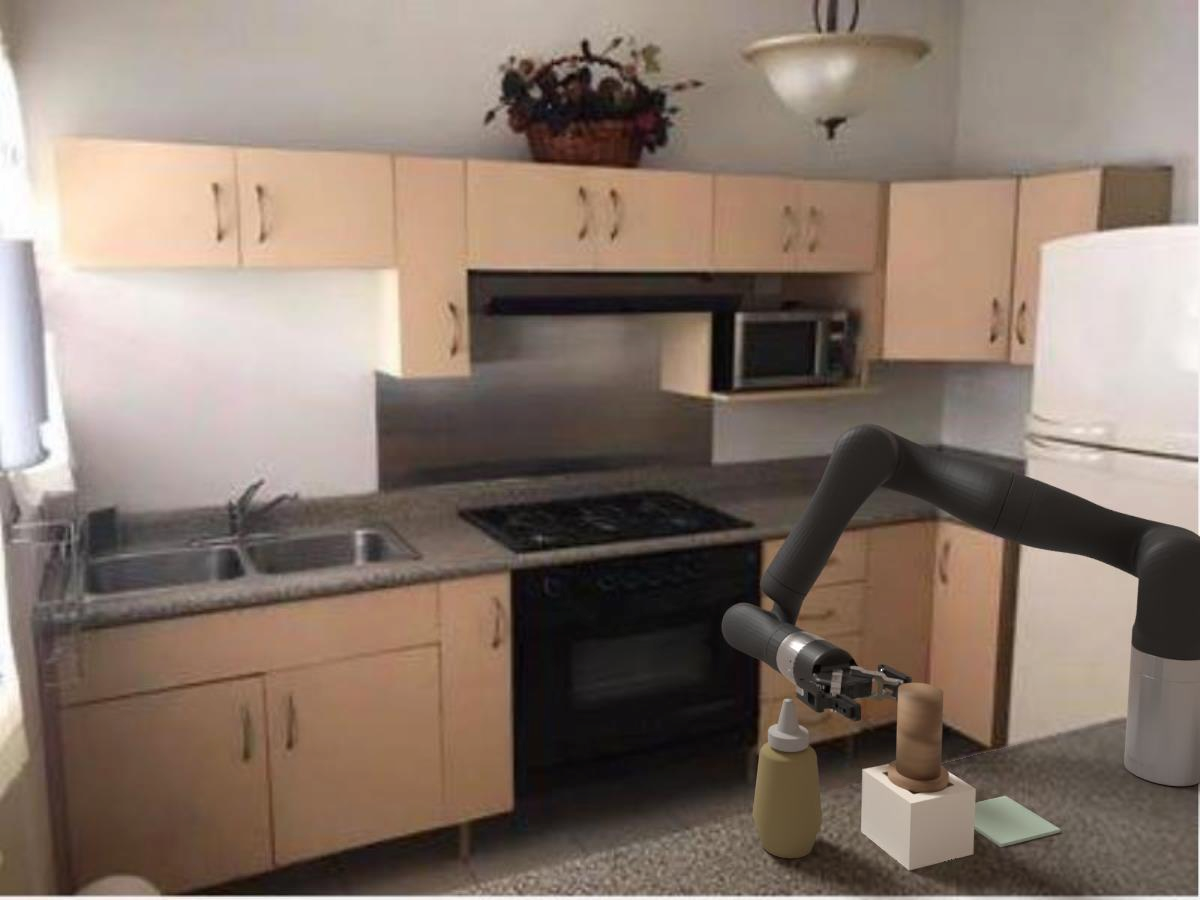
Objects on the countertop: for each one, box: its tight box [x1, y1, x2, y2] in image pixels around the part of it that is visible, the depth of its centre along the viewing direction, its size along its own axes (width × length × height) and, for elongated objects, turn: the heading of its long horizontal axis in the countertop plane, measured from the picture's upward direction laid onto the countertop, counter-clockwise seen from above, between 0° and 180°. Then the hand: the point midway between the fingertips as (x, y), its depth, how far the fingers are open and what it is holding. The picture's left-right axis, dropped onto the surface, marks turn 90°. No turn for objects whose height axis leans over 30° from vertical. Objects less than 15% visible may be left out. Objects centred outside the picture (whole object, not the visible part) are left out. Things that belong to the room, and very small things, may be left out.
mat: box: [974, 795, 1061, 848], centre depth 121 cm, size 9×9×1 cm
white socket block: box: [860, 763, 977, 871], centre depth 116 cm, size 9×9×8 cm
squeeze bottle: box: [752, 698, 823, 859], centre depth 115 cm, size 8×8×18 cm
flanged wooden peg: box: [888, 682, 950, 794], centre depth 115 cm, size 7×7×12 cm
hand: (888, 708), depth 120 cm, fingers open, 8 cm apart
